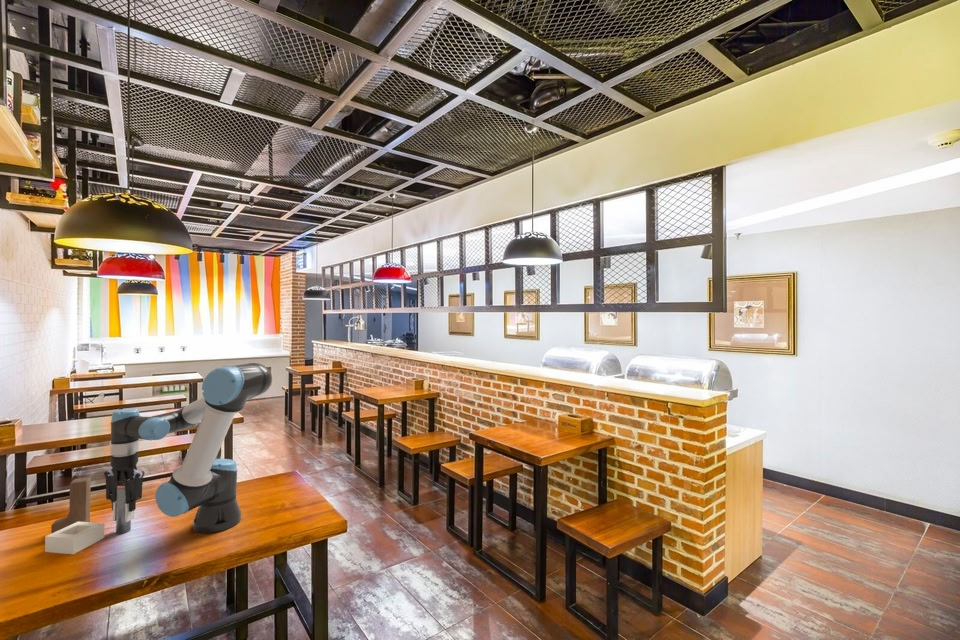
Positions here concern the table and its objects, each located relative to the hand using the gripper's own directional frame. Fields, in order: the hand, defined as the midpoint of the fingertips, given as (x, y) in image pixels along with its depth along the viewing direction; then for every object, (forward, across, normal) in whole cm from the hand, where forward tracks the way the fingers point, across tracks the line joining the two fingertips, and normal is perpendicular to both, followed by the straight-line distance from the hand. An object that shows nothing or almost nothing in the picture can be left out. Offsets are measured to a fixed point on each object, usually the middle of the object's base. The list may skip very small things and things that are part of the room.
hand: (123, 519), depth 148 cm
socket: (+4, +7, +10) cm, 13 cm away
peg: (+4, 0, 0) cm, 4 cm away
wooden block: (+4, +17, +3) cm, 18 cm away
